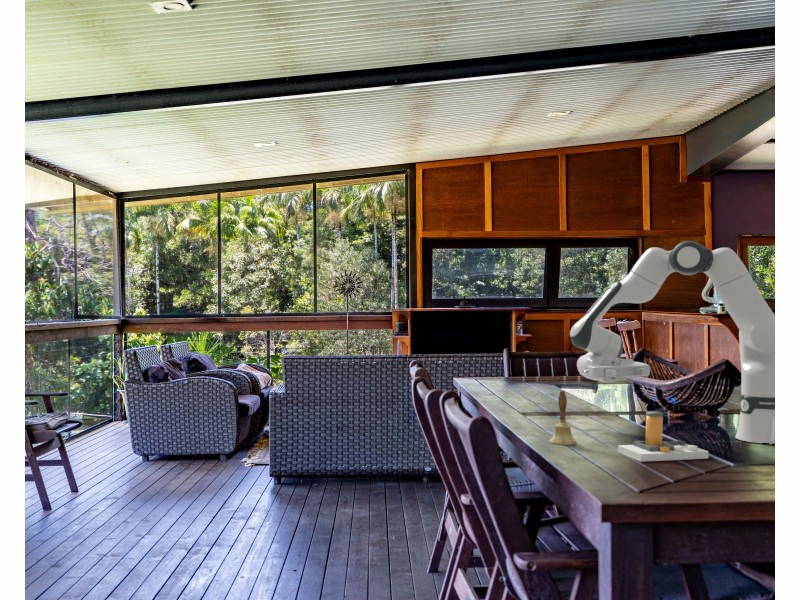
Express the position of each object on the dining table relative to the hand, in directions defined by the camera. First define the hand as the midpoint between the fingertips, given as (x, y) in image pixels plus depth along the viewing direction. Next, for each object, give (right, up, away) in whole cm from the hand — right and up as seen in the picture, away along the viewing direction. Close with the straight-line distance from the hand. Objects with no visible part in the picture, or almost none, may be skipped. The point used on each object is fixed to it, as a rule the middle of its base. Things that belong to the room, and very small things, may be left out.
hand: (630, 373), depth 217 cm
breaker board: (+2, -21, -20) cm, 29 cm away
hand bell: (-22, -21, -2) cm, 31 cm away
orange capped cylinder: (0, -19, -19) cm, 27 cm away
